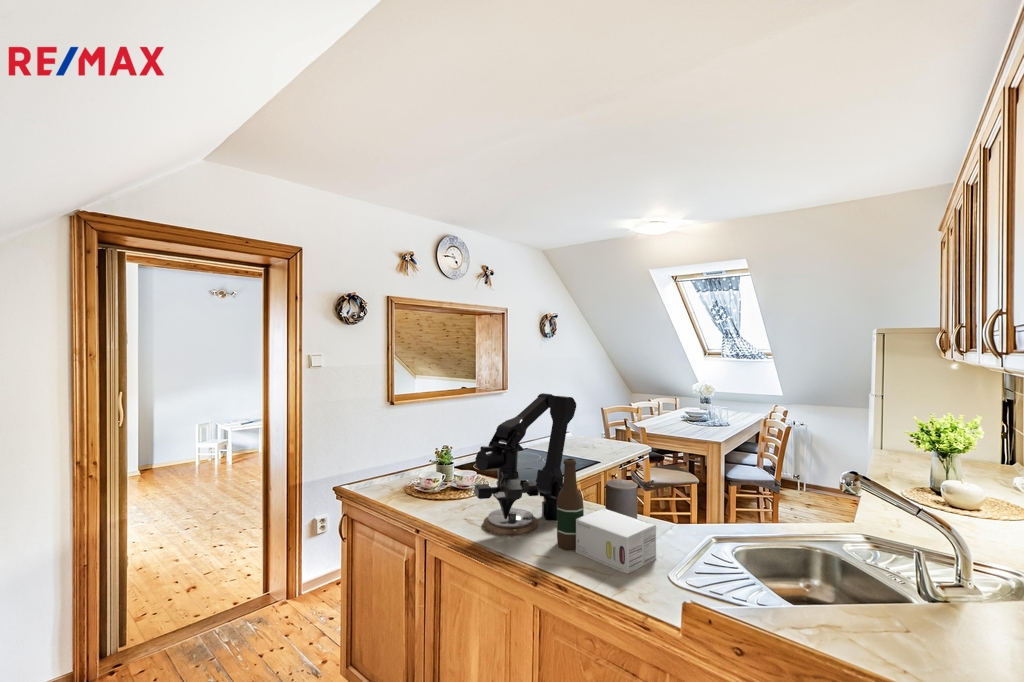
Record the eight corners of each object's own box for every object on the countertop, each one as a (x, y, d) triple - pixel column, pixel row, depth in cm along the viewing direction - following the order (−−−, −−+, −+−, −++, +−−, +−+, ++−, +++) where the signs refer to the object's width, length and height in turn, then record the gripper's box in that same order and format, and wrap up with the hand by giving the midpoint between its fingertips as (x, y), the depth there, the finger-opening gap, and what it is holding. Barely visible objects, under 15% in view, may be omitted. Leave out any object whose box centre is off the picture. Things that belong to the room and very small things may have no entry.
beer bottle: (587, 542, 137) (587, 457, 138) (579, 553, 130) (579, 463, 130) (561, 538, 141) (561, 455, 141) (552, 548, 133) (552, 461, 134)
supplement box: (574, 553, 131) (574, 518, 131) (605, 540, 140) (604, 507, 140) (627, 575, 118) (627, 536, 118) (657, 559, 127) (656, 523, 127)
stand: (532, 514, 161) (532, 509, 161) (543, 533, 144) (543, 529, 144) (481, 517, 158) (481, 512, 158) (486, 537, 141) (486, 532, 141)
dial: (487, 513, 157) (487, 500, 157) (530, 511, 158) (530, 499, 159) (488, 529, 143) (488, 515, 144) (535, 527, 145) (535, 514, 145)
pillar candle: (598, 527, 149) (598, 478, 149) (618, 519, 155) (618, 473, 155) (624, 537, 141) (625, 486, 141) (644, 529, 148) (644, 479, 148)
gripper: (484, 474, 135) (482, 531, 134) (546, 472, 140) (544, 526, 140) (474, 465, 145) (472, 517, 145) (533, 463, 151) (531, 513, 151)
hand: (505, 518), depth 145 cm, fingers closed
